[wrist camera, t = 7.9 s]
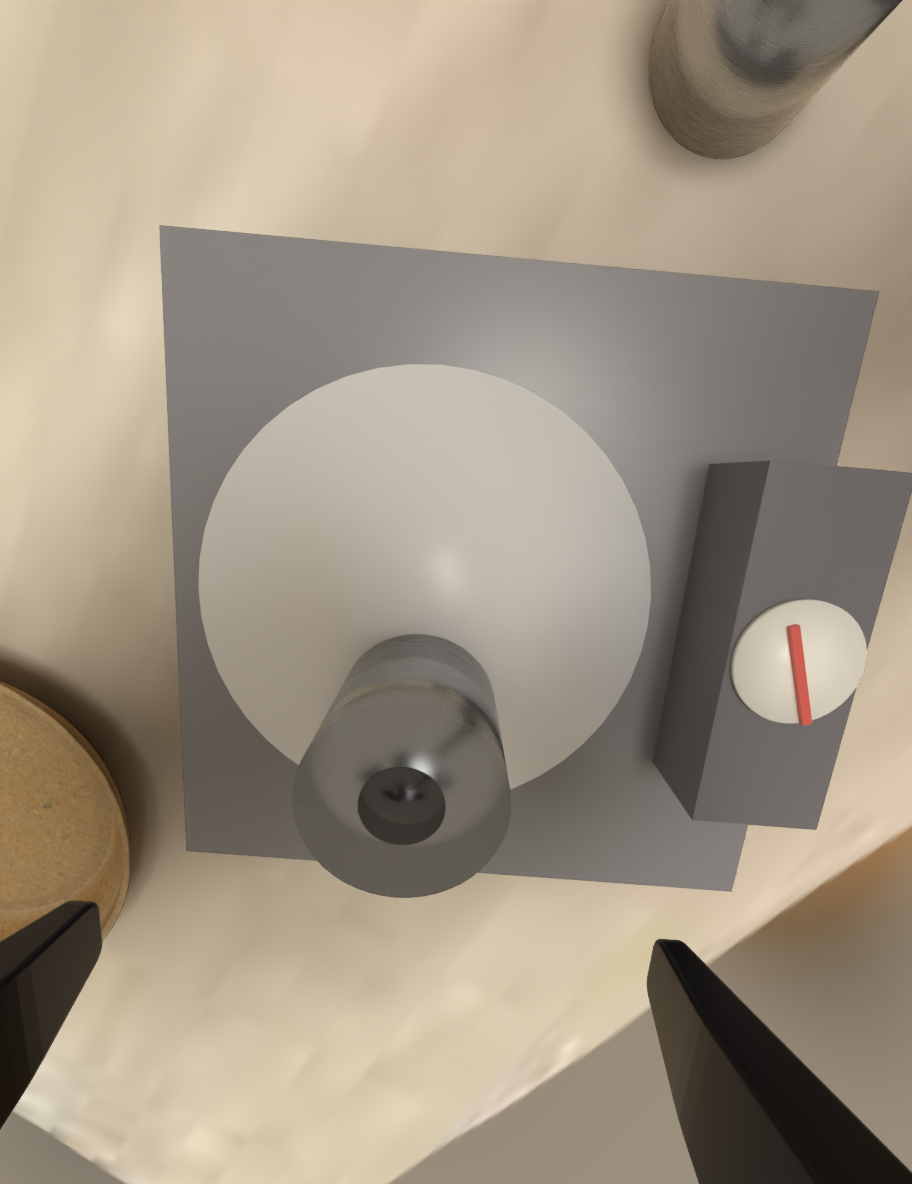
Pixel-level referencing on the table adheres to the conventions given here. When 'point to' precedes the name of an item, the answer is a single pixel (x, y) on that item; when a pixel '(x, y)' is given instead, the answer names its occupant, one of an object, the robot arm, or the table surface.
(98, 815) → the plant saucer
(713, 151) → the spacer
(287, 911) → the table surface
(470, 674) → the cylinder
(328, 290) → the kitchen scale
